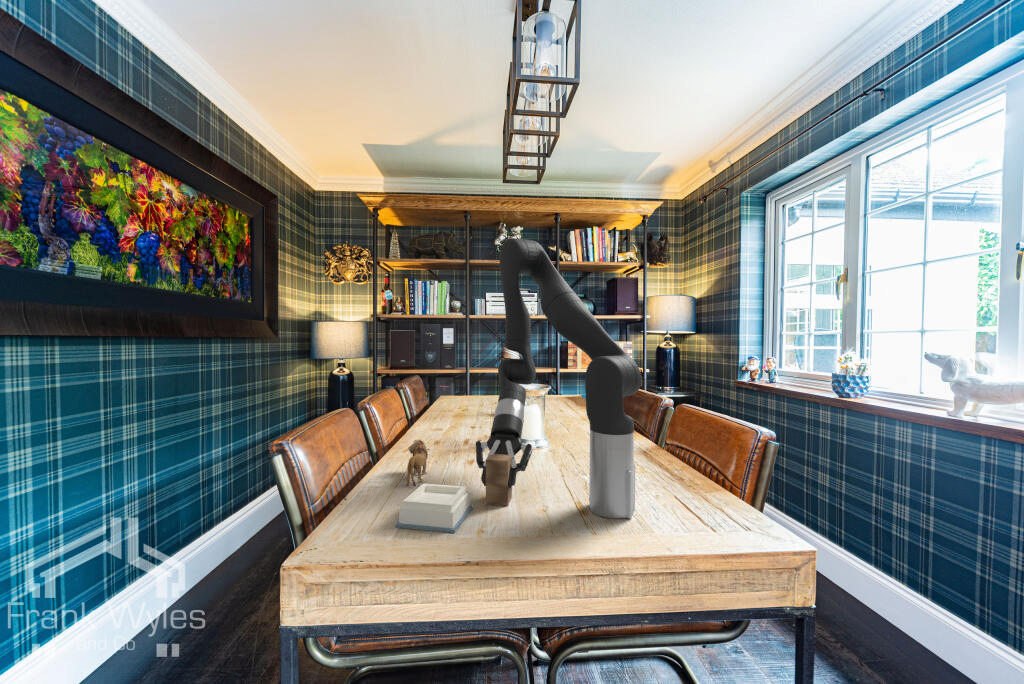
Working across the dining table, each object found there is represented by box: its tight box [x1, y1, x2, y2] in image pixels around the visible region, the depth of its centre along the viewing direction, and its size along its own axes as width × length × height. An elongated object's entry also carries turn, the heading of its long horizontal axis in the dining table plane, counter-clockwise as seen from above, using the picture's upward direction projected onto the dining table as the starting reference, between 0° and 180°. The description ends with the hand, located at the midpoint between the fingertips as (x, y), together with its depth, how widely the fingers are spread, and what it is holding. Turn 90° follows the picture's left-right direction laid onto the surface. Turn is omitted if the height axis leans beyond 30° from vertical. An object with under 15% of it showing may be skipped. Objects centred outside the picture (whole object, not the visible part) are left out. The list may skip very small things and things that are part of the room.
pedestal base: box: [395, 482, 474, 534], centre depth 84 cm, size 12×12×5 cm
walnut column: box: [485, 454, 513, 507], centre depth 93 cm, size 5×5×10 cm
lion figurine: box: [405, 438, 429, 487], centre depth 107 cm, size 15×5×9 cm, turn 11°
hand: (497, 485), depth 91 cm, fingers closed on walnut column, 5 cm apart
